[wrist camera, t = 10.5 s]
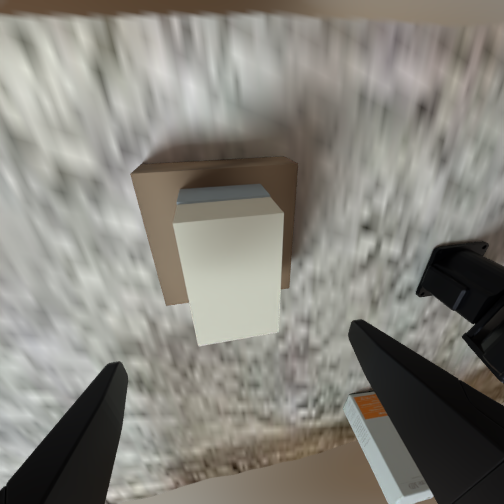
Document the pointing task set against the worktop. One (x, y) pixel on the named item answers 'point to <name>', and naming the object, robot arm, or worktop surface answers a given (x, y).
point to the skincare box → (385, 450)
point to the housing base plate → (221, 193)
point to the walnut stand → (199, 176)
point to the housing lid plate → (231, 266)
